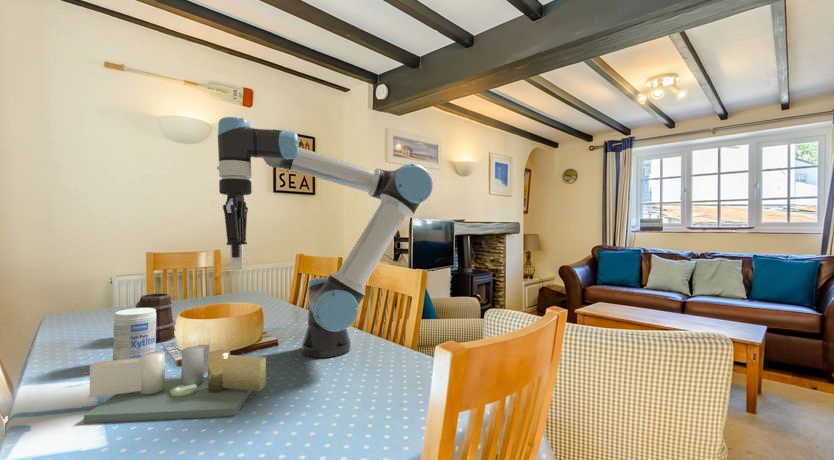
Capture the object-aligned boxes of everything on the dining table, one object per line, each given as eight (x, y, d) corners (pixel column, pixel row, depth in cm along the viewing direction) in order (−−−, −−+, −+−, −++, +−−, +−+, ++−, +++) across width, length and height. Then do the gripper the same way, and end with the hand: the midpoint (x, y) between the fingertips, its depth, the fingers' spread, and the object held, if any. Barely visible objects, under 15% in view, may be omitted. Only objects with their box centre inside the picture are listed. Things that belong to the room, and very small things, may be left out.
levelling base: (261, 378, 94) (262, 340, 94) (234, 415, 75) (235, 368, 75) (143, 382, 90) (143, 342, 90) (83, 423, 71) (84, 373, 71)
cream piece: (161, 392, 81) (162, 356, 81) (87, 402, 76) (88, 363, 76) (166, 384, 85) (167, 350, 85) (96, 393, 80) (96, 356, 80)
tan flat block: (216, 382, 86) (216, 349, 86) (267, 386, 85) (268, 352, 85) (203, 390, 82) (203, 355, 82) (257, 395, 80) (257, 359, 80)
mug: (183, 336, 128) (183, 293, 128) (146, 346, 117) (146, 299, 117) (154, 331, 134) (154, 290, 134) (116, 340, 123) (117, 295, 123)
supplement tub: (135, 370, 97) (136, 315, 97) (102, 368, 98) (103, 314, 98) (163, 357, 107) (164, 307, 107) (134, 356, 108) (134, 306, 108)
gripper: (228, 182, 100) (230, 267, 101) (210, 175, 88) (212, 273, 88) (257, 182, 102) (259, 266, 102) (243, 176, 89) (246, 272, 89)
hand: (237, 269), depth 95 cm, fingers closed
